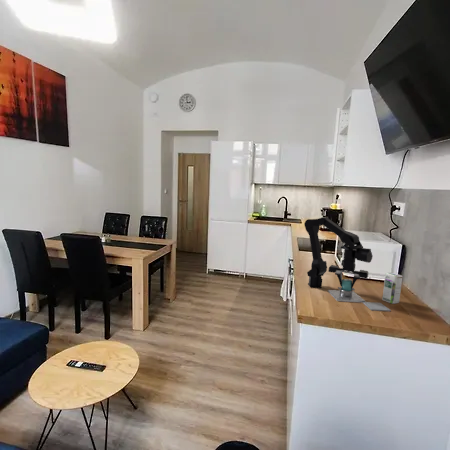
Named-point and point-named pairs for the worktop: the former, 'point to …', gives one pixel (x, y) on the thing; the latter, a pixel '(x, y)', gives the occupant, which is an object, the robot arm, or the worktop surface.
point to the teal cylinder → (346, 284)
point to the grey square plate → (346, 295)
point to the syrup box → (392, 288)
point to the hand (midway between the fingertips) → (346, 287)
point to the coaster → (376, 306)
